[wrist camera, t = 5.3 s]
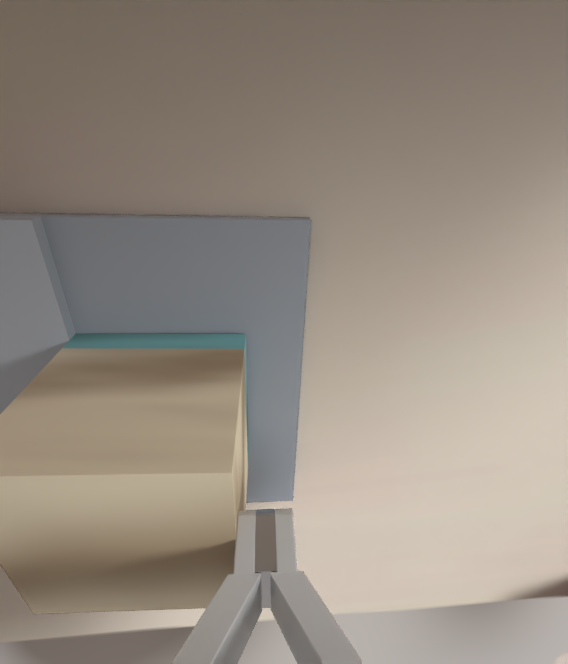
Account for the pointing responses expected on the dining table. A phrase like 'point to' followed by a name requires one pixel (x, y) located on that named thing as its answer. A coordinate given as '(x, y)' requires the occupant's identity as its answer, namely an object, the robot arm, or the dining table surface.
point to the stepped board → (166, 304)
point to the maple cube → (126, 473)
